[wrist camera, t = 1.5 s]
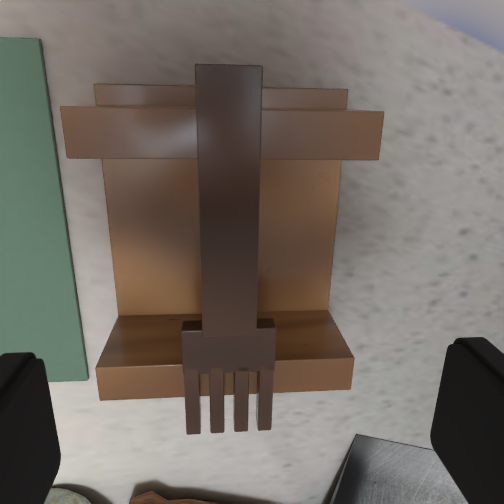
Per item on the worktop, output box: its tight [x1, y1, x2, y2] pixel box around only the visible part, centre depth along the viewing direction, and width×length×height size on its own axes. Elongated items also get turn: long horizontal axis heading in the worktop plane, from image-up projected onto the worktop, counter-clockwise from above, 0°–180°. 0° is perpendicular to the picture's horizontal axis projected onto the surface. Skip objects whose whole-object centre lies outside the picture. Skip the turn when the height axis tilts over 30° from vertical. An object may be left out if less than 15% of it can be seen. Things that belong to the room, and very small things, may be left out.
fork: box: [181, 64, 277, 435], centre depth 18 cm, size 17×4×2 cm, turn 179°
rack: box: [60, 84, 384, 401], centre depth 22 cm, size 16×13×6 cm
